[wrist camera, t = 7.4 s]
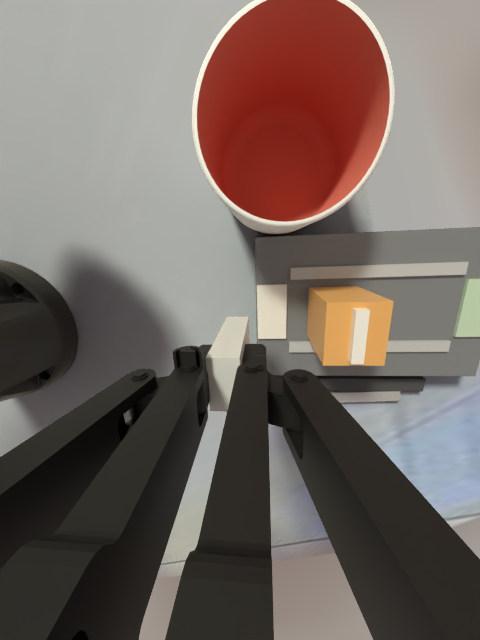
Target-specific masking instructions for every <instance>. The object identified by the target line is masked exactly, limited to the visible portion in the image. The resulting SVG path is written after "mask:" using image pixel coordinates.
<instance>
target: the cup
mask: <svg viewBox="0 0 480 640" xmlns="http://www.w3.org/2000/svg"><path fill="white" fill-rule="evenodd" d="M394 103H395V87H394V77H393V70H392V66H391V61H390V58H389V55H388V52H387V49H386V46H385V44H384V42H383V40H382V37H381V35H380V33H379V32H378V30H377V29H376V27H375V26H374V24H373V22H372V21H371V20H370V19H369V18H368V16H367V15H366V14H365V13H364V12H363V11H362V10H361V9H360V8H359V7H358V6H356V5H355V4H354V3H352V2H351V1H350V0H254V1H253V2H251V3H250V4H248V5H247V6H245V7H244V8H243V9H242V10H240V11H239V12H238V13H237V14H236V15H235V16H234V17H233V18H232V19H231V20H230V21H229V22H228V23H227V24H226V25H225V27H224V28H223V29H222V30H221V32H220V33H219V34H218V36H217V37H216V39H215V40H214V42H213V44H212V46H211V48H210V50H209V51H208V53H207V55H206V57H205V59H204V62H203V64H202V67H201V69H200V72H199V76H198V79H197V83H196V87H195V92H194V97H193V107H192V130H193V139H194V144H195V150H196V153H197V157H198V160H199V163H200V166H201V168H202V171H203V173H204V175H205V177H206V179H207V181H208V182H209V184H210V186H211V187H212V189H213V190H214V192H215V193H216V194H217V195H218V197H219V198H220V199H221V200H222V201H223V203H224V204H225V205H226V206H227V207H228V208H229V210H230V211H231V212H232V213H233V214H234V216H235V217H236V218H237V219H238V220H239V221H240V222H242V223H243V224H244V225H246V226H247V227H249V228H251V229H253V230H255V231H258V232H261V233H265V234H275V235H276V234H285V233H290V232H293V231H296V230H298V229H300V228H303V227H305V226H307V225H309V224H312V223H314V222H316V221H318V220H321V219H323V218H325V217H327V216H329V215H330V214H332V213H334V212H335V211H337V210H338V209H340V208H341V207H342V206H344V205H345V204H346V203H347V202H348V201H350V200H351V199H352V198H353V197H354V196H355V195H356V194H357V193H358V192H359V190H360V189H361V188H362V187H363V186H364V184H365V183H366V182H367V180H368V179H369V177H370V176H371V174H372V173H373V171H374V169H375V168H376V166H377V164H378V162H379V160H380V158H381V156H382V154H383V151H384V149H385V146H386V144H387V140H388V137H389V134H390V130H391V125H392V121H393V114H394Z"/></svg>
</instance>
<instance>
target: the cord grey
mask: <svg viewBox="0 0 480 640" xmlns="http://www.w3.org/2000/svg"><path fill="white" fill-rule="evenodd" d="M329 391H330V393H331V394H332V395H333V396H334V397H335V398H336V399H337V400H338V401H339V403H344V402H377V401H400V393H401V391H347V390H329Z"/></svg>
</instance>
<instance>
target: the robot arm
mask: <svg viewBox="0 0 480 640" xmlns="http://www.w3.org/2000/svg"><path fill="white" fill-rule="evenodd" d="M76 351H77V332H76V327H75V323H74V320H73V317H72V315H71V313H70V311H69V309H68V307H67V305H66V303H65V302H64V300H63V299H62V297H61V296H60V295H59V294H58V292H57V291H56V290H55V289H54V288H53V287H52V286H51V285H50V284H49V283H48V282H47V281H46V280H44V279H43V278H42V277H40V276H39V275H38V274H36V273H35V272H33V271H31V270H29V269H28V268H25V267H23V266H21V265H18V264H15V263H12V262H8V261H2V260H0V402H1V401H4V400H8V399H11V398H15V397H18V396H22V395H25V394H28V393H32V392H35V391H37V390H40V389H42V388H44V387H45V386H47V385H49V384H50V383H52V382H53V381H55V380H56V379H58V378H59V377H61V376H62V375H63V374H64V373H66V371H67V370H68V369H69V368H70V366H71V365H72V363H73V361H74V358H75V355H76ZM173 358H174V365H175V369H174V370H173V372H172V373H171V374H170V376H166V377H160V378H157V377H156V372H155V371H154V370H151V369H142V370H141V369H139V370H137V371H134V372H131V373H130V374H128V375H126V376H125V377H123V378H121V379H120V380H118V381H117V382H115V383H114V384H112V385H111V386H109V387H108V388H106V389H105V390H103V391H101V392H100V393H98V394H97V395H95V396H94V397H92V398H91V399H89V400H88V401H86V402H85V403H83V404H82V405H80V406H78V407H77V408H75V409H74V410H72V411H71V412H69V413H68V414H66V415H65V416H63V417H62V418H60V419H58V420H57V421H55V422H54V423H52V424H51V425H49V426H48V427H46V428H45V429H43V430H42V431H40V432H38V433H37V434H35V435H34V436H32V437H31V438H29V439H28V440H26V441H25V442H23V443H22V444H20V445H18V446H17V447H15V448H14V449H12V450H11V451H9V452H8V453H6V454H5V455H3V456H2V457H0V640H139V634H140V628H141V625H142V621H143V617H144V614H145V611H146V608H147V605H148V602H149V599H150V596H151V592H152V589H153V586H154V583H155V580H156V577H157V574H158V571H159V568H160V565H161V561H162V558H163V555H164V552H165V549H166V546H167V543H168V540H169V537H170V534H171V530H172V527H173V524H174V521H175V518H176V515H177V512H178V509H179V506H180V503H181V499H182V496H183V493H184V490H185V487H186V484H187V481H188V478H189V475H190V472H191V468H192V465H193V462H194V459H195V456H196V453H197V450H198V447H199V444H200V441H201V437H202V434H203V431H204V428H205V425H206V422H207V419H208V410H207V407H208V404H209V402H210V411H227V416H226V420H225V425H224V429H223V433H222V438H221V442H220V447H219V451H218V456H217V460H216V465H215V469H214V474H213V478H212V483H211V487H210V491H209V496H208V500H207V505H206V509H205V514H204V518H203V523H202V527H201V532H200V536H199V540H198V544H197V547H196V549H195V550H194V551H191V552H190V553H189V555H188V557H187V559H186V562H185V565H184V569H183V572H182V575H181V580H180V583H179V588H178V591H177V595H176V599H175V603H174V607H173V611H172V615H171V619H170V623H169V627H168V631H167V635H166V639H165V640H274V631H273V594H272V593H273V591H272V558H271V524H270V480H269V437H268V423H269V424H272V425H276V426H279V427H283V434H284V436H285V438H286V441H287V443H288V445H289V447H290V450H291V452H292V454H293V457H294V459H295V461H296V463H297V466H298V468H299V470H300V473H301V475H302V477H303V479H304V482H305V484H306V486H307V489H308V491H309V493H310V495H311V498H312V500H313V502H314V505H315V507H316V509H317V512H318V514H319V516H320V518H321V521H322V523H323V525H324V528H325V530H326V532H327V534H328V537H329V539H330V541H331V544H332V546H333V548H334V550H335V553H336V555H337V557H338V559H339V561H340V564H341V566H342V569H343V571H344V573H345V575H346V578H347V580H348V582H349V585H350V587H351V589H352V592H353V594H354V596H355V598H356V601H357V603H358V605H359V607H360V610H361V612H362V615H363V617H364V619H365V621H366V624H367V626H368V628H369V631H370V633H371V635H372V637H373V640H480V559H479V558H478V557H477V556H476V555H475V554H474V553H473V552H472V550H471V549H470V548H469V547H468V546H467V545H466V544H465V543H464V541H463V540H462V539H461V538H460V537H459V536H458V535H457V533H456V532H455V531H454V530H453V529H452V528H451V527H450V526H449V525H448V523H447V522H446V521H445V520H444V519H443V518H442V517H441V516H440V514H439V513H438V512H437V511H436V510H435V509H434V508H433V507H432V506H431V504H430V503H429V502H428V501H427V500H426V499H425V498H424V497H423V495H422V494H421V493H420V492H419V491H418V490H417V489H416V488H415V487H414V485H413V484H412V483H411V482H410V481H409V480H408V479H407V478H406V476H405V475H404V474H403V473H402V472H401V471H400V470H399V469H398V467H397V466H396V465H395V464H394V463H393V462H392V461H391V460H390V459H389V457H388V456H387V455H386V454H385V453H384V452H383V451H382V450H381V448H380V447H379V446H378V445H377V444H376V443H375V442H374V441H373V440H372V438H371V437H370V436H369V435H368V434H367V433H366V432H365V431H364V429H363V428H362V427H361V426H360V425H359V424H358V423H357V422H356V420H355V419H354V418H353V417H352V416H351V415H350V414H349V413H348V412H347V410H346V409H345V408H344V407H343V406H342V405H341V404H340V403H339V401H338V400H337V399H336V398H335V397H334V396H333V395H332V394H331V393H330V391H329V390H328V389H327V388H326V387H325V386H324V385H323V384H322V382H321V381H320V380H319V379H318V378H317V377H316V376H315V375H314V374H313V373H311V372H309V371H306V370H303V369H294V370H289V371H287V372H285V373H284V375H283V377H278V376H275V375H273V374H271V373H269V372H268V370H267V360H266V347H265V346H264V345H263V344H249V318H248V317H227V318H226V320H225V322H224V324H223V326H222V328H221V330H220V331H219V333H218V335H217V337H216V339H215V341H214V343H213V345H201V346H200V347H197V346H185V347H181V348H178V349H176V350H174V351H173ZM128 410H129V411H130V416H131V420H130V421H129V422H128V423H125V420H124V415H123V414H124V413H125V412H127V411H128Z"/></svg>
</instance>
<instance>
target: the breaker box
mask: <svg viewBox="0 0 480 640" xmlns="http://www.w3.org/2000/svg"><path fill="white" fill-rule="evenodd" d="M255 273H256V318H257V344H263V345H264V346H265V347H266V360H267V370H268V372H269V373H271V374H273V375H284V373H285V372H287V371H289V370H294V369H303V370H306V371H309V372H311V373H313V374H314V375H315V376H475V375H476V371H477V368H478V364H479V360H480V227H472V228H453V229H452V228H450V229H429V230H408V231H386V232H364V233H342V234H321V235H299V236H278V237H256V238H255ZM339 286H358V287H360V288H363V289H365V290H368V291H370V292H373V293H375V294H377V295H380V296H382V297H385V298H387V299H390V300H392V301H394V303H393V310H392V317H391V324H390V331H389V337H388V344H387V351H386V358H385V365H384V366H323V365H322V363H321V361H320V359H319V357H318V355H317V353H316V351H315V350H314V348H313V346H312V344H311V342H310V340H309V338H308V336H307V319H308V295H309V287H339Z"/></svg>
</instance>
